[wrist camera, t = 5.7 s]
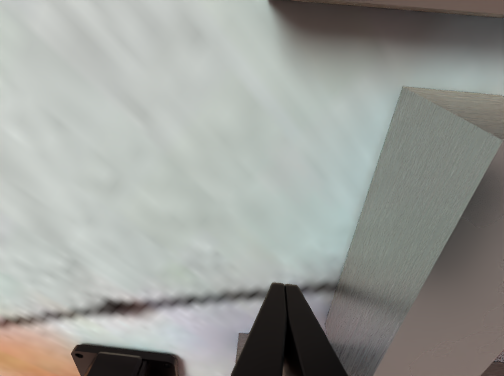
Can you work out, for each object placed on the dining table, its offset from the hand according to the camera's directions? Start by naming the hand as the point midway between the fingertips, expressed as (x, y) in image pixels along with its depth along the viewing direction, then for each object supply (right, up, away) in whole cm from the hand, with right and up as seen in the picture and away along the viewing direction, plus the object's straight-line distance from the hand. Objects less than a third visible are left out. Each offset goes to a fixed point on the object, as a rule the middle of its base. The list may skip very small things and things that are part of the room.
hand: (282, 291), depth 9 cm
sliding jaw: (+5, +1, +3) cm, 6 cm away
